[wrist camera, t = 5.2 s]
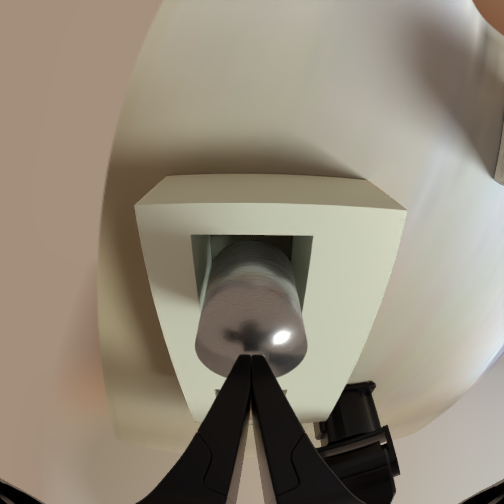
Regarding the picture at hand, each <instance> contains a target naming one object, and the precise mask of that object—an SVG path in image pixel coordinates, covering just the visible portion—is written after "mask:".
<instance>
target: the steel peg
mask: <svg viewBox="0 0 504 504" xmlns="http://www.w3.org/2000/svg"><path fill="white" fill-rule="evenodd" d="M307 347H308V345H307V338H306V333H305V328H304V323H303V318H302V313H301V308H300V303H299V298H298V294H297V289H296V284H295V280H294V275H293V271H292V267H291V263H290V261H289V259H288V258H287V256H286V255H285V254H284V253H283V252H282V251H281V250H280V249H279V248H277V247H276V246H274V245H272V244H270V243H267V242H264V241H259V240H244V241H239V242H236V243H233V244H231V245H229V246H227V247H225V248H224V249H223V250H222V251H220V253H219V254H218V255H217V256H216V257H215V259H214V261H213V263H212V266H211V270H210V275H209V279H208V283H207V288H206V292H205V297H204V301H203V306H202V311H201V315H200V320H199V325H198V330H197V335H196V340H195V351H196V354H197V356H198V358H199V360H200V361H201V362H202V363H203V364H204V365H205V366H206V367H207V368H208V369H209V370H211V371H212V372H214V373H216V374H218V375H220V376H223V377H225V378H227V376H228V374H229V373H230V371H231V369H232V367H233V365H234V363H235V361H236V359H237V358H238V356H239V355H240V354H249V355H251V356H252V355H253V354H262V355H264V356H265V358H266V360H267V362H268V364H269V366H270V368H271V370H272V372H273V373H274V375H275V377H276V378H277V377H280V376H283V375H285V374H287V373H289V372H290V371H292V370H293V369H295V368H296V367H297V366H298V365H299V364H300V363H301V362H302V360H303V359H304V357H305V355H306V352H307Z"/></svg>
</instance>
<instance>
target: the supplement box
mask: <svg viewBox="0 0 504 504" xmlns="http://www.w3.org/2000/svg"><path fill="white" fill-rule="evenodd" d="M494 180H495V181H496V182H498V183H500V184H501V185H503V186H504V123H503V131H502V138H501V144H500V150H499V156H498V161H497V166H496V170H495V176H494Z"/></svg>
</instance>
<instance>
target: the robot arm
mask: <svg viewBox="0 0 504 504" xmlns="http://www.w3.org/2000/svg"><path fill="white" fill-rule="evenodd" d="M375 387H376V384H375V383H374V382H373V383H366V384H360V385H352V386H345V387H344V389H343V391H342V393H341V395H340V397H339V399H338V401H337V403H336V404H335V406H334V408H333V410H332V412H331V413H330V415H329V417H328V419H327V420H326V421H320V422H313V424H314V431H315V438H316V439H317V440H321V447H319V448H315V447H314V446H313V444H312V442H311V441H310V439H309V437H308V435H307V434H306V433H305V430H304V429H303V427H302V425H301V423H300V421H299V420H298V418H297V416H296V414H295V412H294V411H293V409H292V407H291V405H290V403H289V401H288V400H287V398H286V396H285V394H284V392H283V390H282V389H281V387H280V385H279V383H278V381H277V379H276V377H275V375H274V373H273V372H272V370H271V368H270V366H269V364H268V362H267V360H266V358H265V356H264V355H262V354H253V355H252V356H251V355H249V354H240V355H239V356H238V358H237V359H236V361H235V363H234V365H233V367H232V369H231V371H230V373H229V374H228V376H227V378H226V380H225V382H224V384H223V386H222V387H221V389H220V391H219V393H218V395H217V397H216V398H215V400H214V402H213V404H212V406H211V408H210V409H209V411H208V413H207V415H206V417H205V418H204V420H203V422H202V424H201V425H200V427H199V429H198V432H197V433H196V434H195V436H194V437H193V439H192V441H191V442H190V444H189V446H188V447H187V449H186V450H185V452H184V453H183V455H182V456H181V457H180V459H179V460H178V461H177V463H176V464H175V465H174V466H173V468H172V469H171V470H170V471H169V472H168V473H167V475H166V476H165V477H164V478H163V479H162V481H161V482H160V483H159V484H158V485H157V487H155V489H154V490H153V491H152V492H150V493H149V494H148V495H147V496H146V497H145V498H143V499H142V500H140V501H139V502H137V503H136V504H236V500H237V494H238V488H239V482H240V477H241V471H242V464H243V458H244V452H245V446H246V439H247V433H248V426H249V419H250V412H251V414H252V422H253V429H254V436H255V443H256V450H257V457H258V462H259V470H260V476H261V483H262V489H263V495H264V502H265V504H391V502H392V500H393V498H394V496H395V493H396V488H395V483H394V478H393V477H395V476H398V475H400V470H399V465H398V461H397V457H396V453H395V450H394V446H393V442H392V439H391V435H390V432H389V428H388V425H386V426H383V427H382V428H381V425H380V421H379V418H378V414H377V411H376V407H375V404H374V400H373V397H372V392H373V390H374V389H375ZM385 441H387V443H386V444H384V445H380V443H382V442H385ZM0 504H45V503H43V502H42V501H40V500H38V499H37V498H35V497H33V496H31V495H29V494H28V493H26V492H24V491H23V490H21V489H19V488H17V487H15V486H13V485H12V484H9V483H8V482H6V481H4V480H2V479H1V478H0ZM459 504H504V479H503V480H501V481H499V482H497V483H495V484H494V485H492V486H490V487H488V488H486V489H484V490H482V491H480V492H478V493H476V494H475V495H473V496H471V497H469V498H467V499H465V500H464V501H462V502H461V503H459Z"/></svg>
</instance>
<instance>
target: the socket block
mask: <svg viewBox="0 0 504 504" xmlns="http://www.w3.org/2000/svg"><path fill="white" fill-rule="evenodd" d="M134 208H135V215H136V221H137V226H138V232H139V237H140V242H141V247H142V252H143V257H144V262H145V266H146V271H147V275H148V279H149V284H150V288H151V292H152V296H153V300H154V303H155V307H156V311H157V314H158V318H159V322H160V325H161V329H162V332H163V335H164V339H165V342H166V345H167V348H168V351H169V354H170V357H171V360H172V363H173V366H174V369H175V372H176V375H177V378H178V381H179V383H180V386H181V389H182V391H183V394H184V397H185V399H186V402H187V404H188V407H189V409H190V412H191V414H192V417H193V419H194V422H199V423H202V422H203V420H204V418H205V417H206V415H207V413H208V411H209V409H210V408H211V406H212V404H213V402H214V400H215V398H216V397H217V395H218V393H219V391H220V389H221V387H222V386H223V384H224V382H225V380H226V378H225V377H223V376H220V375H218V374H216V373H214V372H212V371H211V370H209V369H208V368H207V367H206V366H205V365H204V364H203V363H202V362H201V361H200V360H199V358H198V356H197V354H196V351H195V340H196V335H197V330H198V325H199V320H200V315H201V311H202V306H203V301H204V297H205V292H206V288H207V283H208V279H209V275H210V270H211V266H212V257H211V243H210V235H293V244H292V255H291V267H292V271H293V275H294V280H295V284H296V289H297V294H298V298H299V303H300V308H301V313H302V318H303V323H304V328H305V333H306V338H307V345H308V347H307V352H306V355H305V357H304V359H303V360H302V362H301V363H300V364H299V365H298V366H297V367H296V368H295V369H293V370H292V371H290V372H289V373H287V374H285V375H283V376H280V377H277V378H276V379H277V381H278V383H279V385H280V387H281V389H282V390H283V392H284V394H285V396H286V398H287V400H288V401H289V403H290V405H291V407H292V409H293V411H294V412H295V414H296V416H297V418H298V420H299V421H300V423H310V422H320V421H326V420H327V419H328V417H329V415H330V413H331V412H332V410H333V408H334V406H335V404H336V403H337V401H338V399H339V397H340V395H341V393H342V391H343V389H344V387H345V385H346V383H347V381H348V379H349V377H350V375H351V373H352V371H353V369H354V367H355V365H356V363H357V360H358V358H359V356H360V354H361V351H362V349H363V347H364V345H365V342H366V340H367V337H368V335H369V333H370V330H371V328H372V325H373V323H374V320H375V317H376V315H377V312H378V310H379V307H380V304H381V301H382V298H383V296H384V293H385V290H386V287H387V284H388V281H389V278H390V275H391V271H392V268H393V265H394V262H395V258H396V255H397V251H398V247H399V244H400V240H401V236H402V232H403V228H404V224H405V220H406V216H407V211H408V210H406V209H405V208H404V207H403V206H401V205H400V204H399V203H398V202H396V201H395V200H394V199H392V198H391V197H390V196H389V195H387V194H386V193H385V192H383V191H382V190H381V189H379V188H378V187H377V186H375V185H374V184H372V183H371V182H370V181H368V180H361V179H350V178H338V177H324V176H307V175H284V174H195V175H172V176H166V177H165V178H164V179H163V180H161V181H160V182H159V183H158V184H157V185H156V186H155V187H153V188H152V189H151V190H150V191H149V192H148V193H147V194H146V195H145V196H144V197H142V198H141V199H140V200H139V201H138V202H137V203H136V204H135V205H134ZM249 425H253V422H252V420H249Z"/></svg>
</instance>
